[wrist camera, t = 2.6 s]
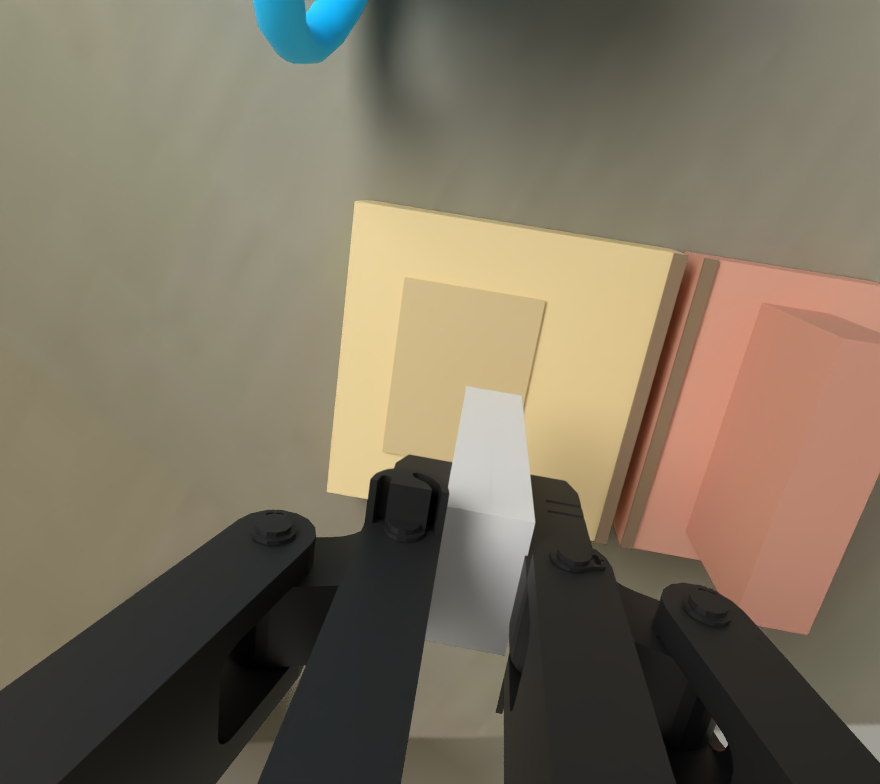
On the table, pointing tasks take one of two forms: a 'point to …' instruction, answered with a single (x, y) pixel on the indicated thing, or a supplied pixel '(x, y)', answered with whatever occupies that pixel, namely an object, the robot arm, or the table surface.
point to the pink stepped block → (759, 433)
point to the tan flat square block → (498, 344)
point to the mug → (307, 26)
